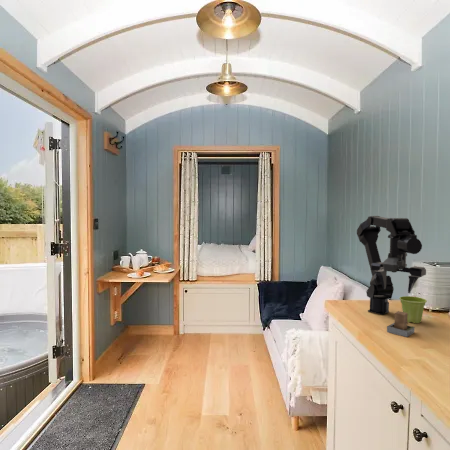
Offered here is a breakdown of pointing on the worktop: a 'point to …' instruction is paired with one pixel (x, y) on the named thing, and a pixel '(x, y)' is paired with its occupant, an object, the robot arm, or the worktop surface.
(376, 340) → the worktop surface
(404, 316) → the brown wooden block
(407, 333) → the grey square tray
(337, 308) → the worktop surface
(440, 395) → the worktop surface
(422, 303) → the plant pot
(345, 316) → the worktop surface
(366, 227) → the robot arm
